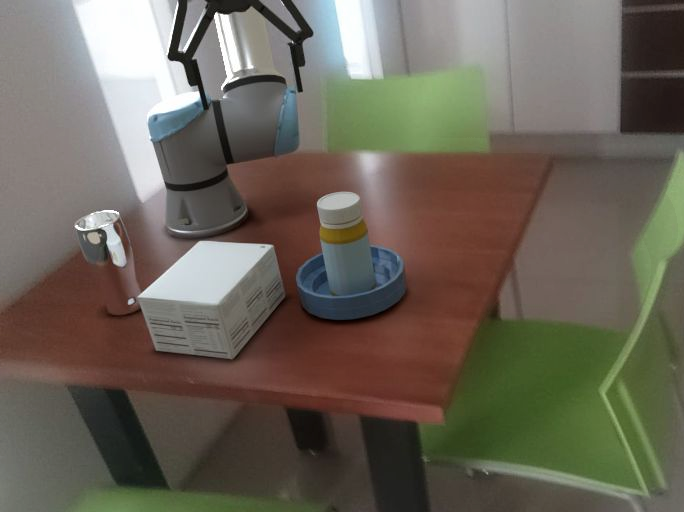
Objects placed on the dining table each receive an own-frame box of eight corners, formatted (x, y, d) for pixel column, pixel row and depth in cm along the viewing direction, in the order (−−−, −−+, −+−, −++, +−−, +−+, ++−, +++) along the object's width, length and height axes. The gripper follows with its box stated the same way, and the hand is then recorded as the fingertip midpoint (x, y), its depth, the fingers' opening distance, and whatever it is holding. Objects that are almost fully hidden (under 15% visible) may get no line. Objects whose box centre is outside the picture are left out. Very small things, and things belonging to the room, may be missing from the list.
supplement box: (213, 291, 126) (198, 239, 121) (287, 297, 122) (274, 243, 117) (153, 351, 113) (134, 295, 108) (233, 360, 109) (217, 302, 104)
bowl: (284, 293, 123) (279, 268, 121) (374, 259, 130) (371, 235, 127) (330, 337, 111) (324, 310, 109) (426, 297, 117) (423, 271, 115)
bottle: (369, 303, 116) (355, 210, 108) (325, 302, 118) (307, 211, 110) (381, 279, 122) (367, 190, 114) (338, 279, 123) (322, 190, 116)
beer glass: (124, 321, 121) (92, 233, 113) (95, 311, 124) (62, 226, 116) (158, 299, 126) (130, 213, 118) (129, 290, 129) (100, 207, 121)
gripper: (119, -45, 97) (166, 122, 108) (316, -74, 102) (342, 89, 113) (120, -51, 103) (165, 107, 114) (306, -78, 108) (331, 77, 119)
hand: (253, 98), depth 114 cm, fingers open, 13 cm apart
